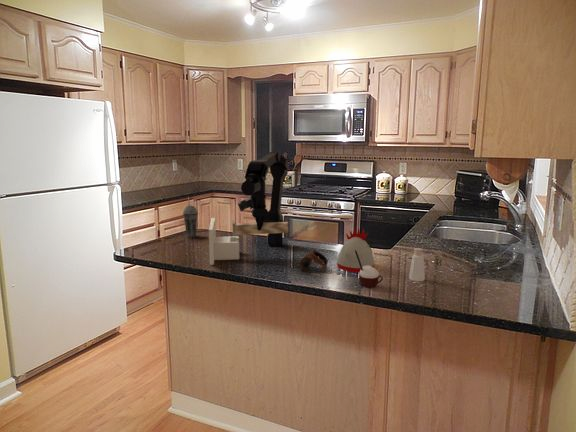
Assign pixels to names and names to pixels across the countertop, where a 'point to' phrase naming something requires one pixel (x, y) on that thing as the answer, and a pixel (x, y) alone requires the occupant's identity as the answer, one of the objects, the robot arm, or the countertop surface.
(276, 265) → the countertop surface
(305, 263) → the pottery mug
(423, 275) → the pepper shaker
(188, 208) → the beverage cup
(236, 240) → the white angular piece
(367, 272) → the cocoa
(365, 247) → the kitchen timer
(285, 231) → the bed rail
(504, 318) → the countertop surface
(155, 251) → the countertop surface
